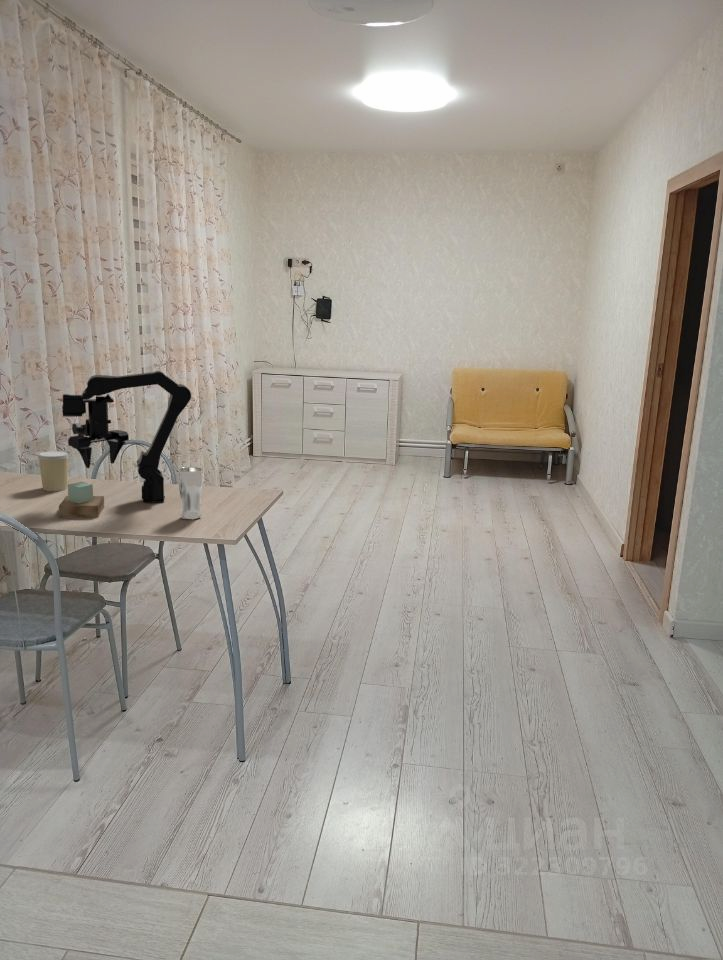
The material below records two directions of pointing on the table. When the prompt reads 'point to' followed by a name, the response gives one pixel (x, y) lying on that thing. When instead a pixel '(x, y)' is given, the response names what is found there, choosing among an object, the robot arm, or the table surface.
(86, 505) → the walnut block
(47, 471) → the coffee cup
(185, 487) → the beer glass
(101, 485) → the table surface
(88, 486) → the sage block
